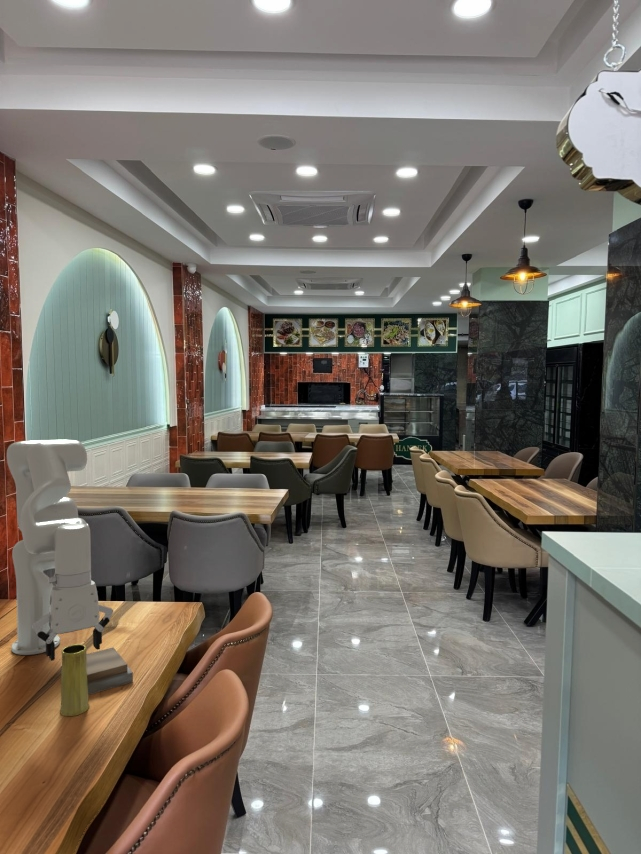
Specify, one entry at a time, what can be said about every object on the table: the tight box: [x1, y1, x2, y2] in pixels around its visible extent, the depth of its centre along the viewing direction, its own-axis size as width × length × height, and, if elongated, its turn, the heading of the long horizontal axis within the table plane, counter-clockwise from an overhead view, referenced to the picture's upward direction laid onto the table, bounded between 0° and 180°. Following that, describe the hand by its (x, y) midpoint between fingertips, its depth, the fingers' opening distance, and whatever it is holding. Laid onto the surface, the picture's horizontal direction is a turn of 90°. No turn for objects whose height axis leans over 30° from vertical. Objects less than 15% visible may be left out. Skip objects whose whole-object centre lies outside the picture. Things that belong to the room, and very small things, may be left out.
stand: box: [60, 647, 134, 696], centre depth 145 cm, size 14×14×4 cm
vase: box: [59, 643, 90, 717], centre depth 130 cm, size 6×6×14 cm
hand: (74, 652), depth 129 cm, fingers open, 9 cm apart
